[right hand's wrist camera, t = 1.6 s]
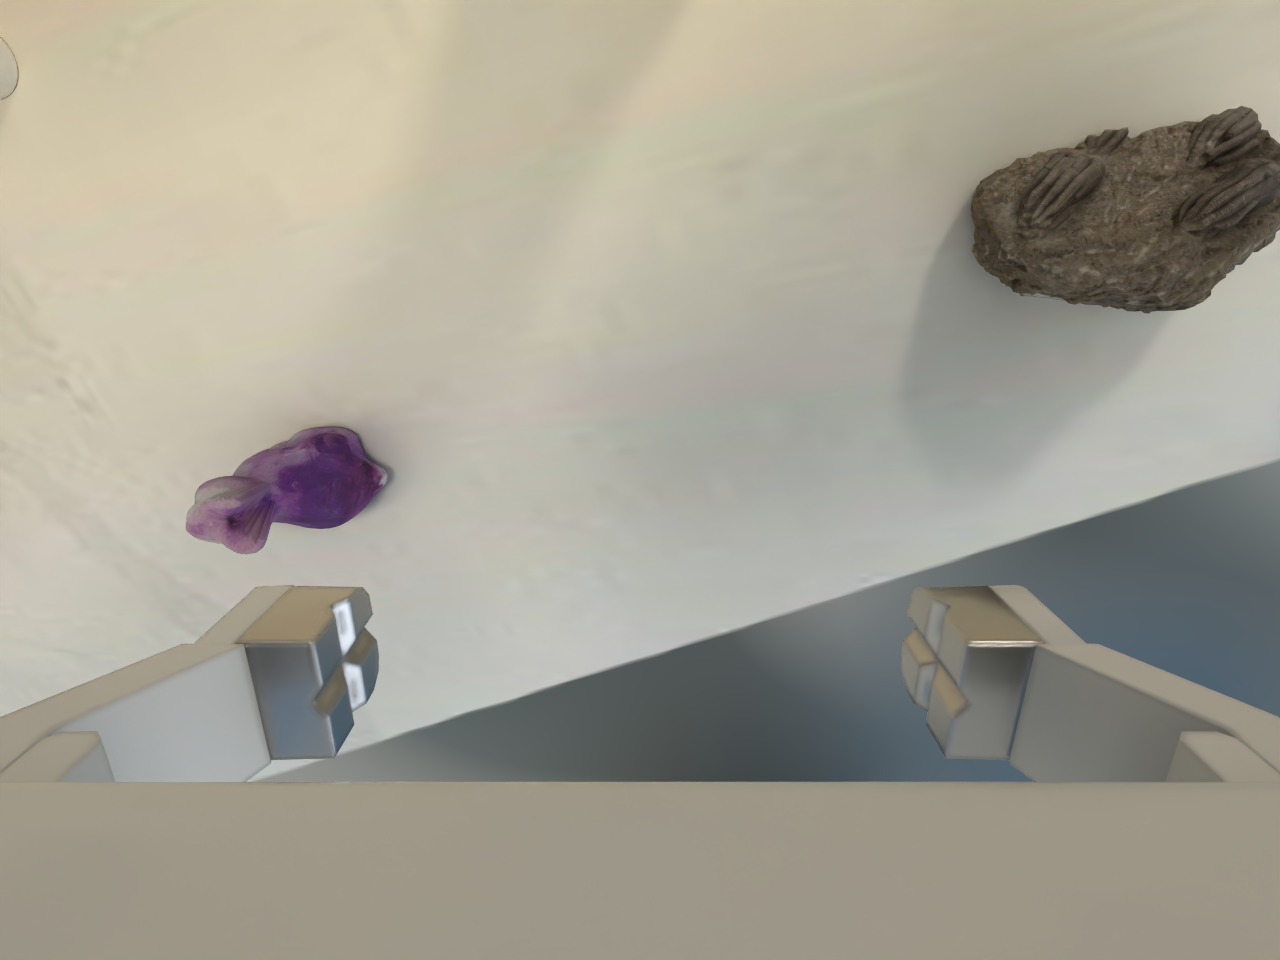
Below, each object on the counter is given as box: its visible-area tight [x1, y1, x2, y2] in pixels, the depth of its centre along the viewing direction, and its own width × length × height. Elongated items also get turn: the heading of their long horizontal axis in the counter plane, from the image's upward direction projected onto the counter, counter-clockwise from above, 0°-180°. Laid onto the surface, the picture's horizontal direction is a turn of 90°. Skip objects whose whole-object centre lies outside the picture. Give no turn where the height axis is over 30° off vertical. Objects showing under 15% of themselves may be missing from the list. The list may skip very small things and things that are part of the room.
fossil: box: [971, 106, 1280, 313], centre depth 49 cm, size 22×10×15 cm
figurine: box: [186, 427, 388, 554], centre depth 53 cm, size 9×10×15 cm
